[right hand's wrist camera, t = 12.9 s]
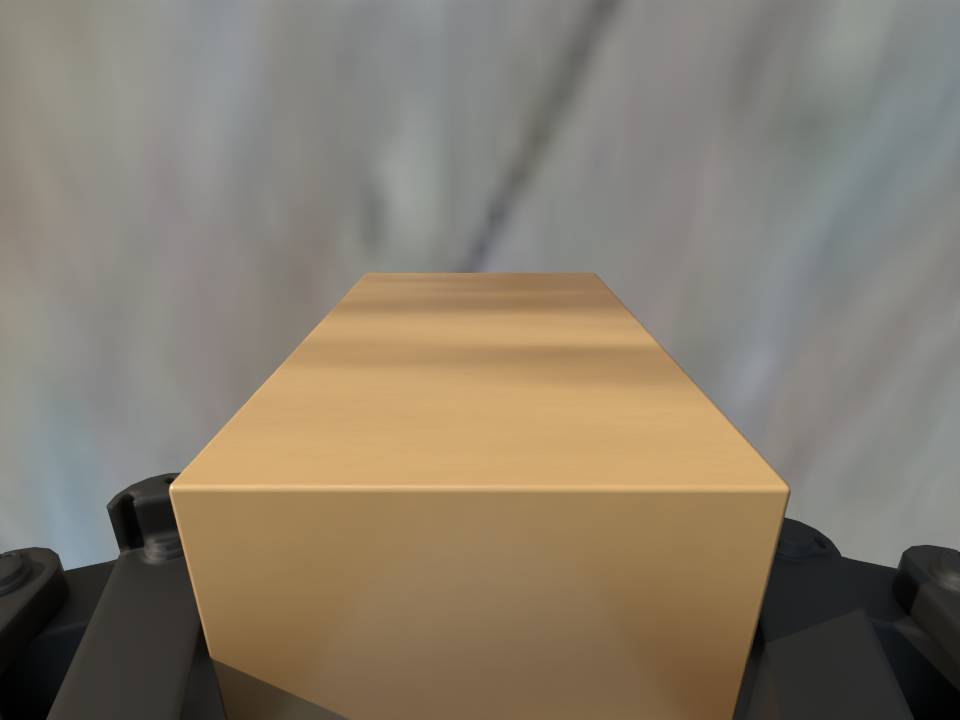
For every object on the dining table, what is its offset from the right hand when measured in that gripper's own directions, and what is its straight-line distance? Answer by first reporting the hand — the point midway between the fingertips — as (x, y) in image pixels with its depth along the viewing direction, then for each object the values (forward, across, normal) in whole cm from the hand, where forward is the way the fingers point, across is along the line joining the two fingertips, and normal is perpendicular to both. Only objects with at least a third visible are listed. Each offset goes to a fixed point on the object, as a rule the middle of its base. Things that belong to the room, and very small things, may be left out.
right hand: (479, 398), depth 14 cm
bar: (+1, 0, -9) cm, 9 cm away
